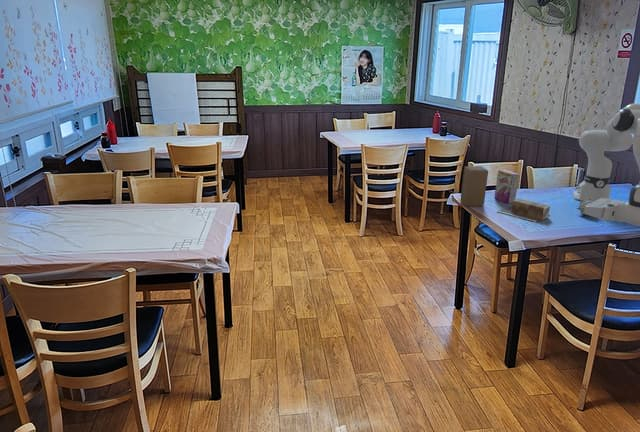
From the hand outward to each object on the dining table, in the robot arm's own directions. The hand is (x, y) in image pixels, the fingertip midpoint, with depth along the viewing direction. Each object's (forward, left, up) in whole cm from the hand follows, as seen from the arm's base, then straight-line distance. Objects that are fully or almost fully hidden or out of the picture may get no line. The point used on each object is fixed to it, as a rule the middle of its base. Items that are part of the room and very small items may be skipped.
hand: (581, 202), depth 209 cm
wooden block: (-25, -45, -12) cm, 53 cm away
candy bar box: (-36, -27, -12) cm, 47 cm away
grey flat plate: (-15, -21, -12) cm, 28 cm away
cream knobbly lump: (-21, +10, -12) cm, 26 cm away
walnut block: (-8, -12, -9) cm, 17 cm away
